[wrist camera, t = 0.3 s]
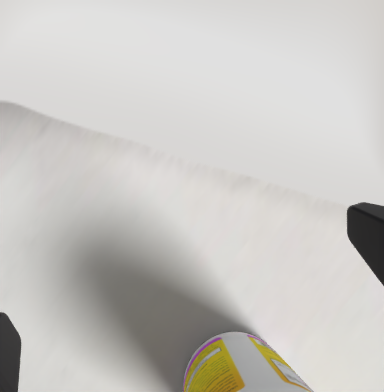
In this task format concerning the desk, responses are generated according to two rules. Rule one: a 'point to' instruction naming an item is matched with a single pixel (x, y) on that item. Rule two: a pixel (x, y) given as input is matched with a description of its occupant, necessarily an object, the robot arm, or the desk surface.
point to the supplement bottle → (239, 367)
